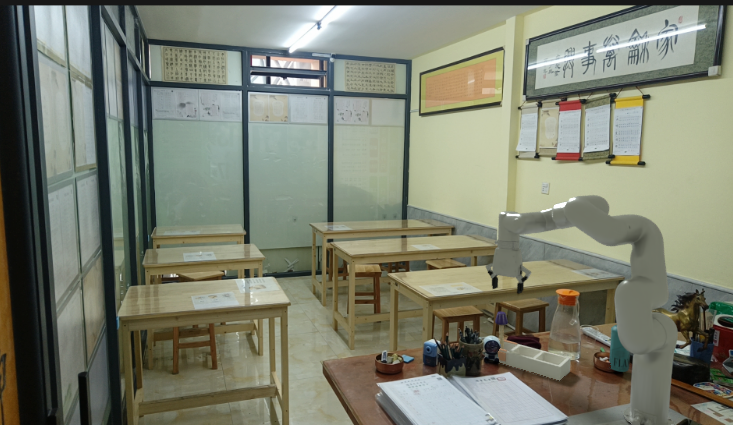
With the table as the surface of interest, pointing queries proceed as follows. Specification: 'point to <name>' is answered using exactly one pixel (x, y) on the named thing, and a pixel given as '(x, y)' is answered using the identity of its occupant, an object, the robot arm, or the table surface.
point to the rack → (534, 360)
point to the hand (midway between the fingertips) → (507, 290)
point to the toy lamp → (501, 326)
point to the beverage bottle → (618, 352)
